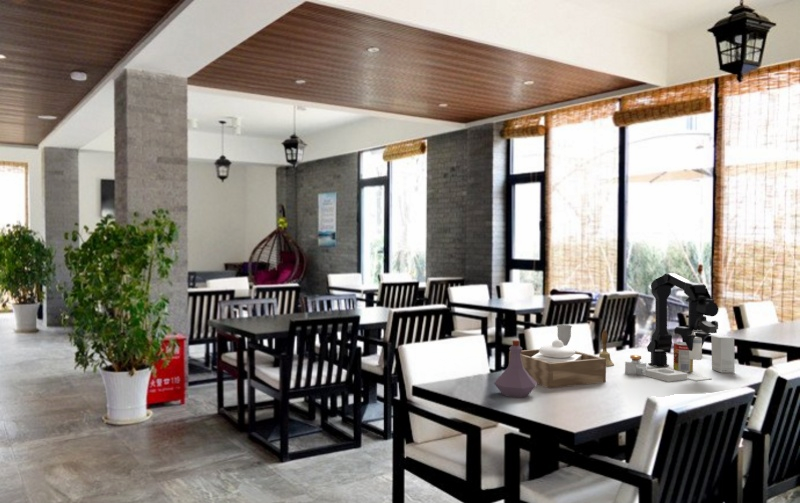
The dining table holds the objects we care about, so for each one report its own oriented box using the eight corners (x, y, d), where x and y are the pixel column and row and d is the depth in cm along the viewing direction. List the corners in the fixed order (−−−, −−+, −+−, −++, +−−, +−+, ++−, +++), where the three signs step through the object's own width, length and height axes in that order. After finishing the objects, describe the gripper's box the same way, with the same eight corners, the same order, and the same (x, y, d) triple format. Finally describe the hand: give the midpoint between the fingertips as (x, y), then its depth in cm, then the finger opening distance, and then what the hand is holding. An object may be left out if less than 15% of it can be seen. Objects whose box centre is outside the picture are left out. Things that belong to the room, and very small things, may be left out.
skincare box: (734, 373, 268) (735, 337, 268) (719, 373, 268) (720, 337, 268) (725, 369, 276) (725, 334, 276) (710, 369, 276) (710, 334, 276)
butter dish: (529, 379, 252) (529, 340, 252) (540, 370, 268) (541, 334, 268) (572, 384, 244) (573, 344, 244) (581, 375, 260) (582, 338, 260)
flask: (506, 387, 239) (507, 336, 239) (545, 393, 229) (546, 340, 228) (484, 395, 227) (485, 341, 226) (524, 402, 216) (525, 346, 216)
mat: (678, 376, 260) (678, 375, 260) (693, 374, 264) (693, 374, 264) (696, 381, 252) (696, 380, 252) (711, 379, 255) (711, 378, 255)
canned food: (688, 368, 277) (689, 342, 277) (695, 372, 269) (696, 345, 269) (670, 368, 278) (671, 341, 278) (676, 371, 270) (677, 344, 270)
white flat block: (645, 375, 262) (645, 369, 262) (664, 373, 266) (664, 367, 266) (667, 381, 251) (667, 375, 251) (687, 379, 255) (687, 373, 255)
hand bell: (595, 365, 282) (595, 331, 282) (595, 362, 290) (595, 328, 290) (614, 366, 280) (615, 332, 279) (613, 363, 288) (614, 329, 287)
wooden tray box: (508, 373, 263) (509, 351, 263) (561, 368, 275) (561, 347, 274) (549, 388, 238) (549, 363, 238) (605, 381, 249) (606, 358, 249)
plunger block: (625, 373, 266) (625, 361, 266) (635, 371, 269) (635, 360, 269) (635, 375, 261) (635, 364, 261) (646, 374, 263) (646, 363, 263)
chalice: (552, 363, 286) (553, 325, 285) (564, 362, 289) (564, 324, 288) (563, 366, 279) (563, 327, 279) (574, 365, 282) (575, 326, 282)
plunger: (627, 371, 266) (628, 355, 266) (635, 370, 268) (635, 354, 267) (635, 373, 262) (635, 357, 262) (643, 372, 264) (643, 356, 263)
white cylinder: (686, 358, 259) (686, 336, 259) (694, 357, 261) (694, 336, 261) (695, 360, 254) (696, 338, 254) (704, 359, 256) (704, 338, 256)
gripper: (696, 316, 246) (695, 355, 246) (728, 314, 254) (727, 352, 254) (673, 313, 256) (673, 350, 257) (705, 311, 264) (704, 347, 264)
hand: (695, 350), depth 257 cm, fingers closed on white cylinder, 5 cm apart
